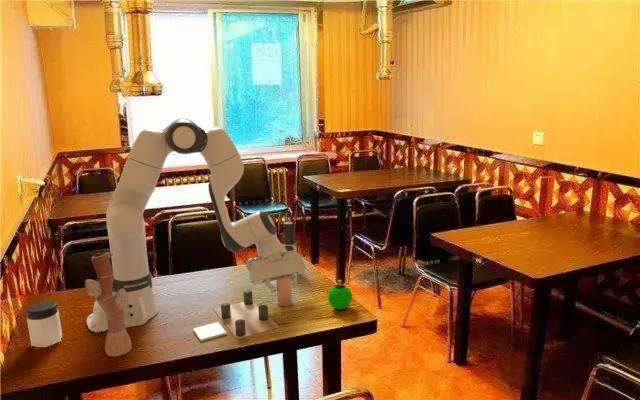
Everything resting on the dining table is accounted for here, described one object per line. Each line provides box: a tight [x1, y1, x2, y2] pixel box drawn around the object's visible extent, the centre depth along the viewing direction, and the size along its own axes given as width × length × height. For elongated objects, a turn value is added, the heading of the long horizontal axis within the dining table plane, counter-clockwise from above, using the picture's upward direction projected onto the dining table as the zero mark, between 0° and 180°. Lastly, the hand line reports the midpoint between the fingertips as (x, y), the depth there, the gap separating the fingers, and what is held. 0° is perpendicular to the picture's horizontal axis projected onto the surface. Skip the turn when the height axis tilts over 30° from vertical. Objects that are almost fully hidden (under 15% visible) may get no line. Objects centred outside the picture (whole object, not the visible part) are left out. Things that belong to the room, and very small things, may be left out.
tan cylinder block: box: [275, 276, 293, 307], centre depth 176 cm, size 5×5×9 cm
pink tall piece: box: [84, 251, 133, 357], centre depth 146 cm, size 10×7×30 cm
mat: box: [192, 321, 227, 342], centre depth 158 cm, size 8×8×1 cm
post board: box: [212, 289, 280, 340], centre depth 167 cm, size 14×24×5 cm, turn 28°
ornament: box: [327, 279, 353, 310], centre depth 171 cm, size 8×8×10 cm
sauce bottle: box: [281, 221, 298, 253], centre depth 207 cm, size 7×6×20 cm
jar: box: [26, 300, 63, 347], centre depth 154 cm, size 9×8×12 cm
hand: (284, 289), depth 176 cm, fingers open, 7 cm apart
